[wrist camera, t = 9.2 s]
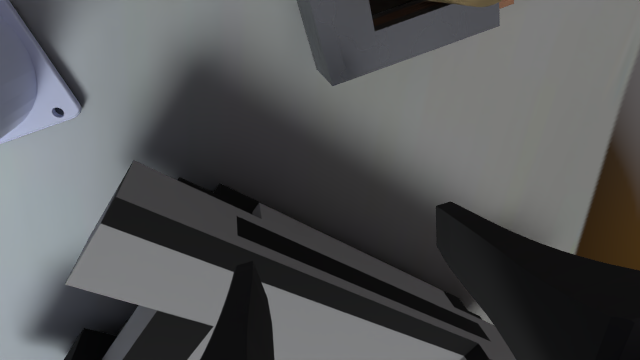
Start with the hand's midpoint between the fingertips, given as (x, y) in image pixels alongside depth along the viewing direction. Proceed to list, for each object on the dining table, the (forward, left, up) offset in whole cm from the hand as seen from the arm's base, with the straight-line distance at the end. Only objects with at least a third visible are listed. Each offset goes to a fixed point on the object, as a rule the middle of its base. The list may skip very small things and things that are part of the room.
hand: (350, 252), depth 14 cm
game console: (-7, -15, -11) cm, 20 cm away
